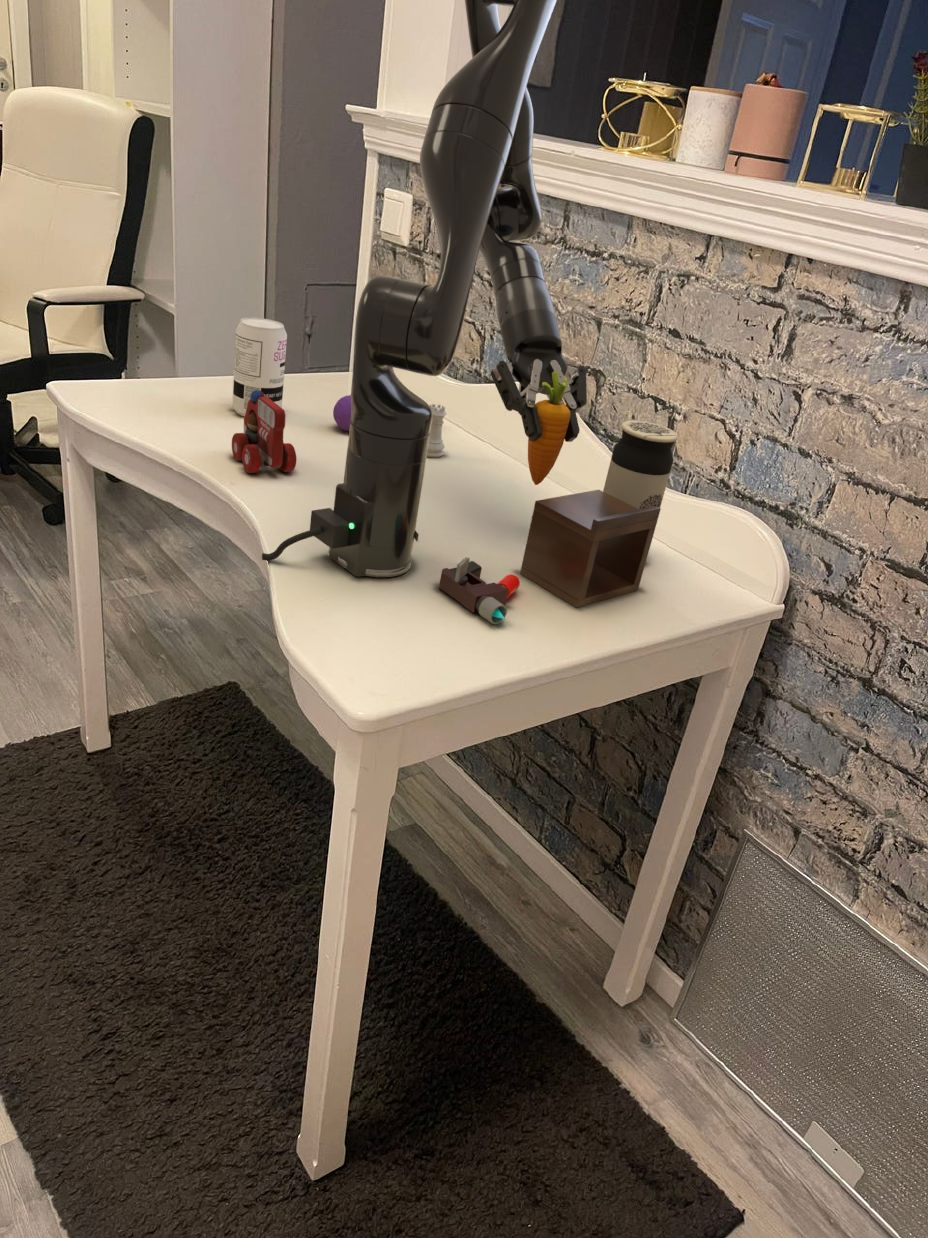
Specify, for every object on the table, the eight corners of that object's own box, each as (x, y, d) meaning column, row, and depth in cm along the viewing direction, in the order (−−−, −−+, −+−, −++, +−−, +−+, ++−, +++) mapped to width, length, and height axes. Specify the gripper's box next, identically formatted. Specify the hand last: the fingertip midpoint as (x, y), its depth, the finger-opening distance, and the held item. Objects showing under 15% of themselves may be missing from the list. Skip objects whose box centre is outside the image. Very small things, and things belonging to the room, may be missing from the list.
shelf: (576, 607, 114) (598, 521, 108) (519, 573, 120) (537, 489, 115) (638, 589, 121) (661, 508, 116) (581, 558, 128) (601, 479, 122)
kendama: (444, 409, 166) (350, 405, 153) (433, 438, 169) (340, 437, 156) (425, 392, 169) (332, 387, 156) (415, 422, 172) (323, 420, 159)
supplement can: (229, 403, 162) (233, 314, 155) (277, 407, 164) (284, 319, 157) (234, 418, 155) (239, 326, 148) (284, 421, 158) (291, 331, 151)
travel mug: (579, 541, 133) (609, 418, 124) (627, 541, 136) (659, 420, 127) (606, 566, 126) (639, 438, 118) (655, 566, 129) (691, 440, 121)
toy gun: (492, 631, 105) (499, 593, 103) (427, 585, 112) (433, 548, 110) (553, 615, 111) (561, 579, 109) (487, 572, 118) (494, 537, 116)
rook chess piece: (447, 458, 155) (455, 411, 151) (422, 457, 153) (429, 410, 150) (438, 449, 159) (445, 402, 155) (413, 448, 157) (420, 401, 153)
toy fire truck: (270, 449, 145) (274, 382, 140) (299, 479, 136) (305, 409, 131) (225, 450, 141) (229, 382, 136) (253, 481, 132) (257, 409, 127)
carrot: (552, 494, 124) (577, 382, 118) (515, 486, 125) (538, 374, 118) (555, 483, 129) (580, 374, 122) (520, 475, 129) (543, 366, 122)
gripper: (494, 301, 119) (521, 424, 116) (586, 310, 126) (615, 427, 122) (468, 333, 126) (493, 450, 122) (558, 340, 132) (584, 451, 129)
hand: (554, 438), depth 122 cm, fingers closed on carrot, 5 cm apart
